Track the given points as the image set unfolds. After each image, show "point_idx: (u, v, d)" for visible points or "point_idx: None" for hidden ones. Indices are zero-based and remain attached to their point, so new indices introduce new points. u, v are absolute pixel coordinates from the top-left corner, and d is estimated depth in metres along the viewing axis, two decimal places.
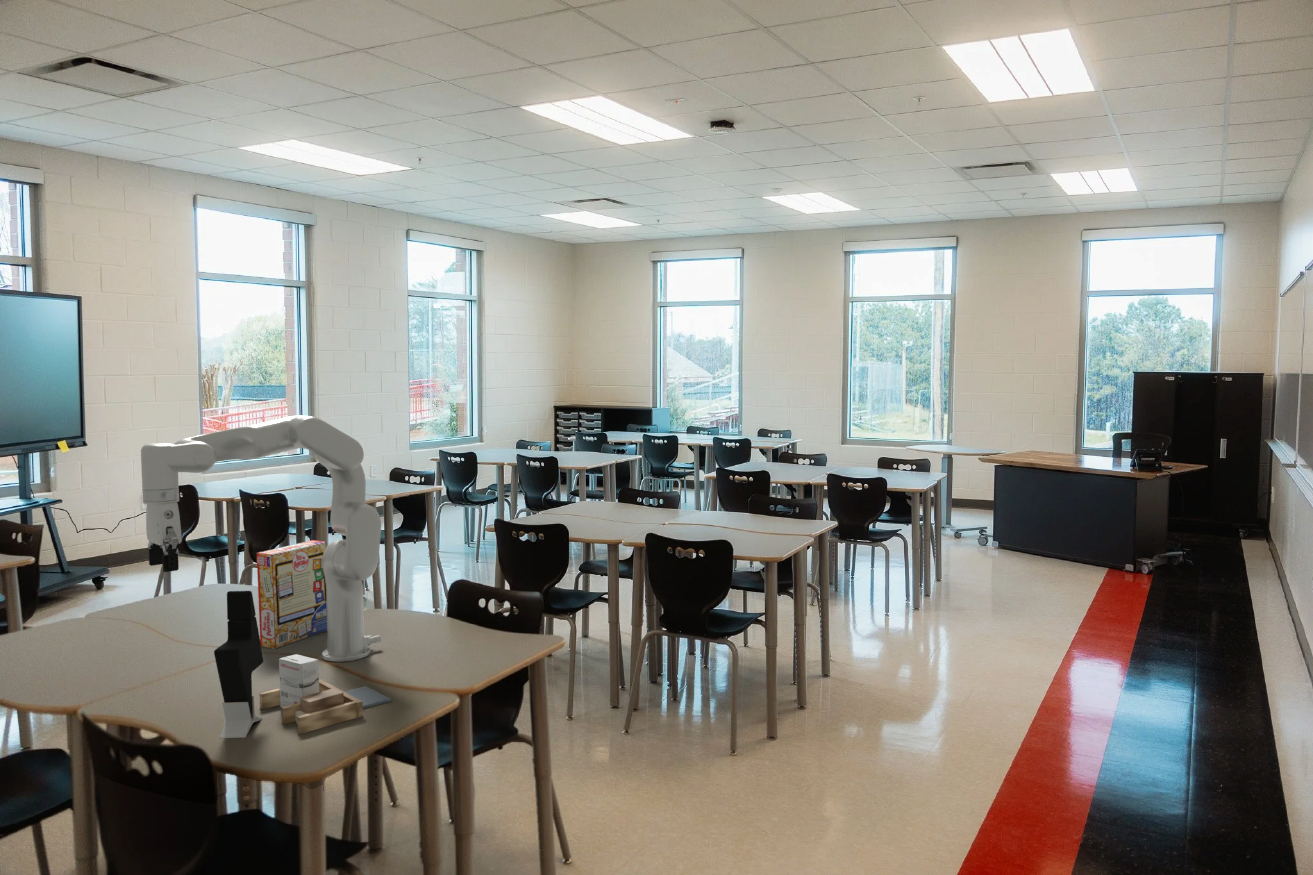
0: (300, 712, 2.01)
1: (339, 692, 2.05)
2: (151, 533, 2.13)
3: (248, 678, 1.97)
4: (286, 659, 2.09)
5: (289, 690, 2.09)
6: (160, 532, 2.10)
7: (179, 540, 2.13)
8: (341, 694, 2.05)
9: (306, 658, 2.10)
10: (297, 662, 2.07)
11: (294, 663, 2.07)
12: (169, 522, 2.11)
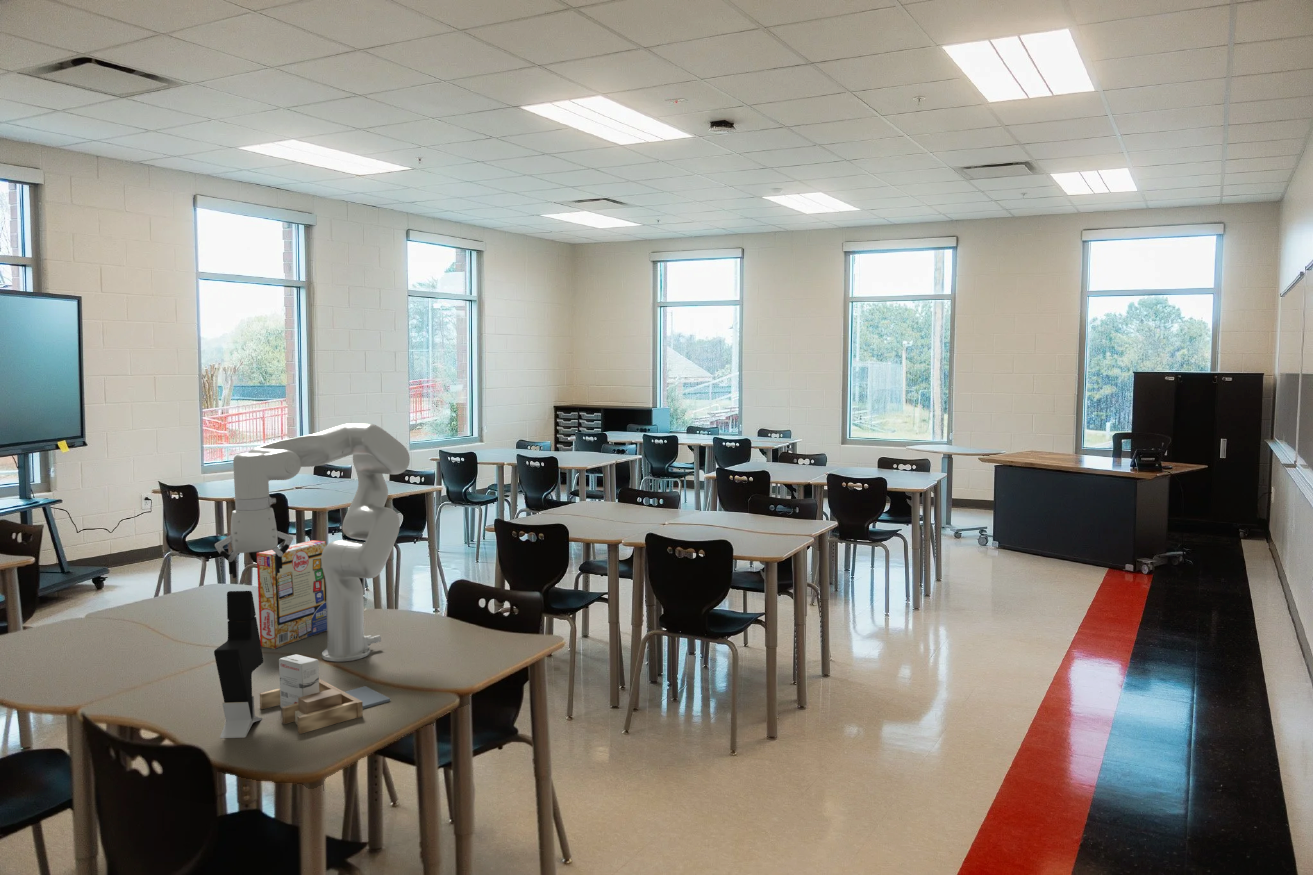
0: (299, 712, 2.01)
1: (337, 693, 2.05)
2: (255, 541, 2.18)
3: (248, 678, 1.97)
4: (286, 659, 2.09)
5: (289, 690, 2.09)
6: (276, 535, 2.21)
7: None
8: (339, 695, 2.04)
9: (306, 658, 2.10)
10: (297, 662, 2.07)
11: (294, 663, 2.07)
12: None
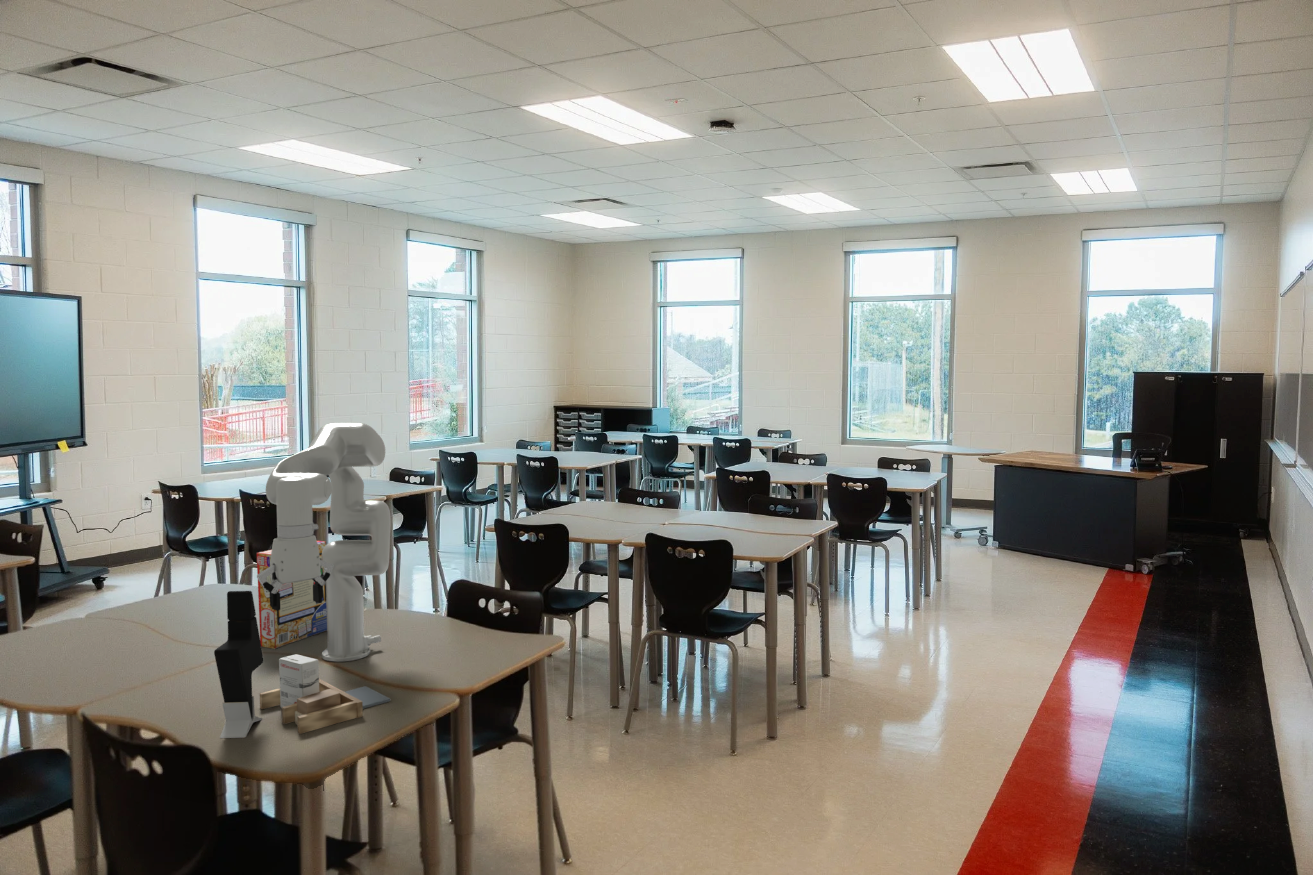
0: None
1: (336, 692, 2.05)
2: (300, 570, 2.07)
3: (248, 678, 1.97)
4: (286, 659, 2.09)
5: (289, 690, 2.09)
6: (319, 563, 2.10)
7: None
8: (338, 694, 2.04)
9: (306, 658, 2.10)
10: (297, 662, 2.07)
11: (294, 663, 2.07)
12: None
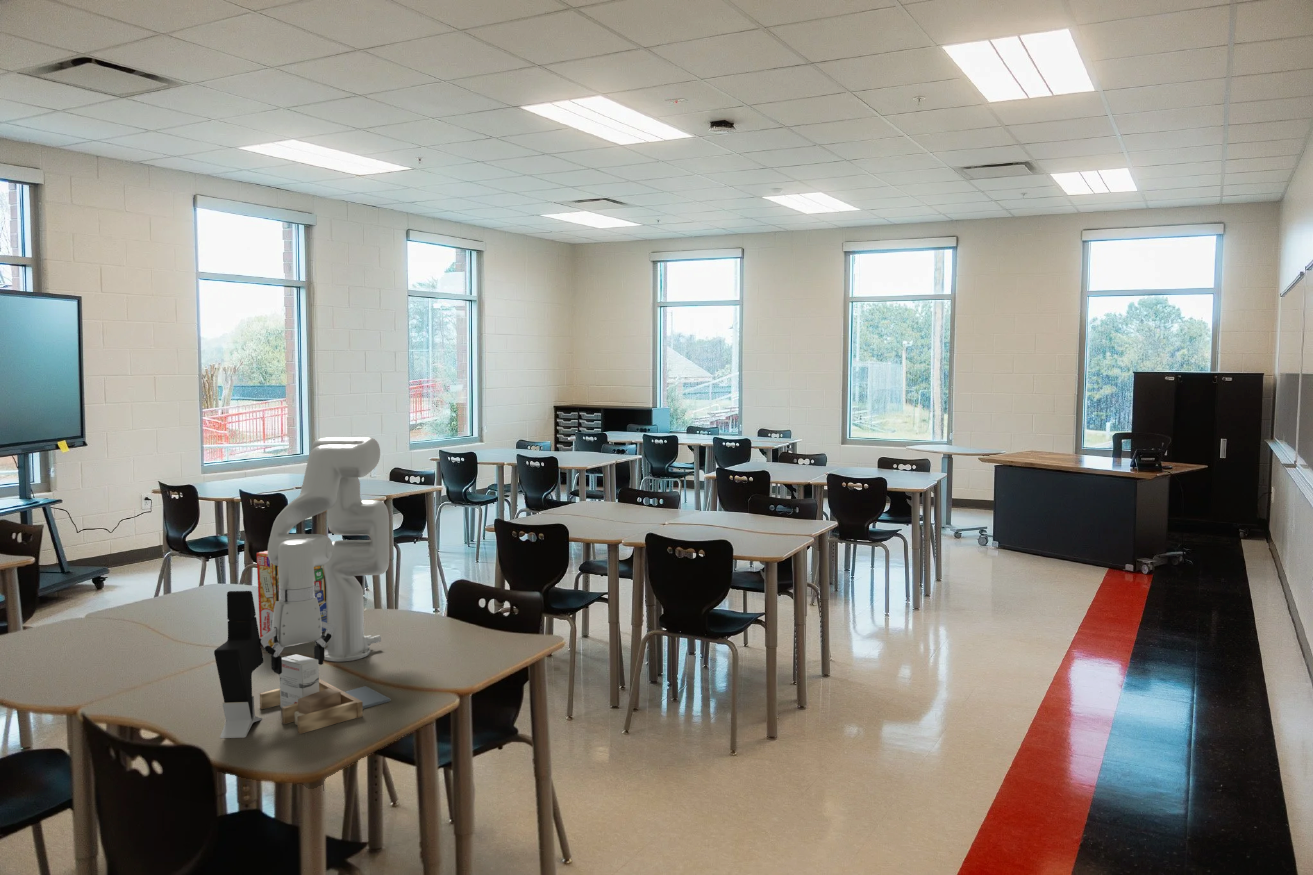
0: None
1: (336, 691, 2.06)
2: (301, 633, 2.07)
3: (248, 678, 1.97)
4: (286, 659, 2.09)
5: (289, 690, 2.09)
6: (321, 625, 2.11)
7: None
8: (338, 693, 2.05)
9: (306, 658, 2.10)
10: (297, 662, 2.07)
11: (294, 663, 2.07)
12: None
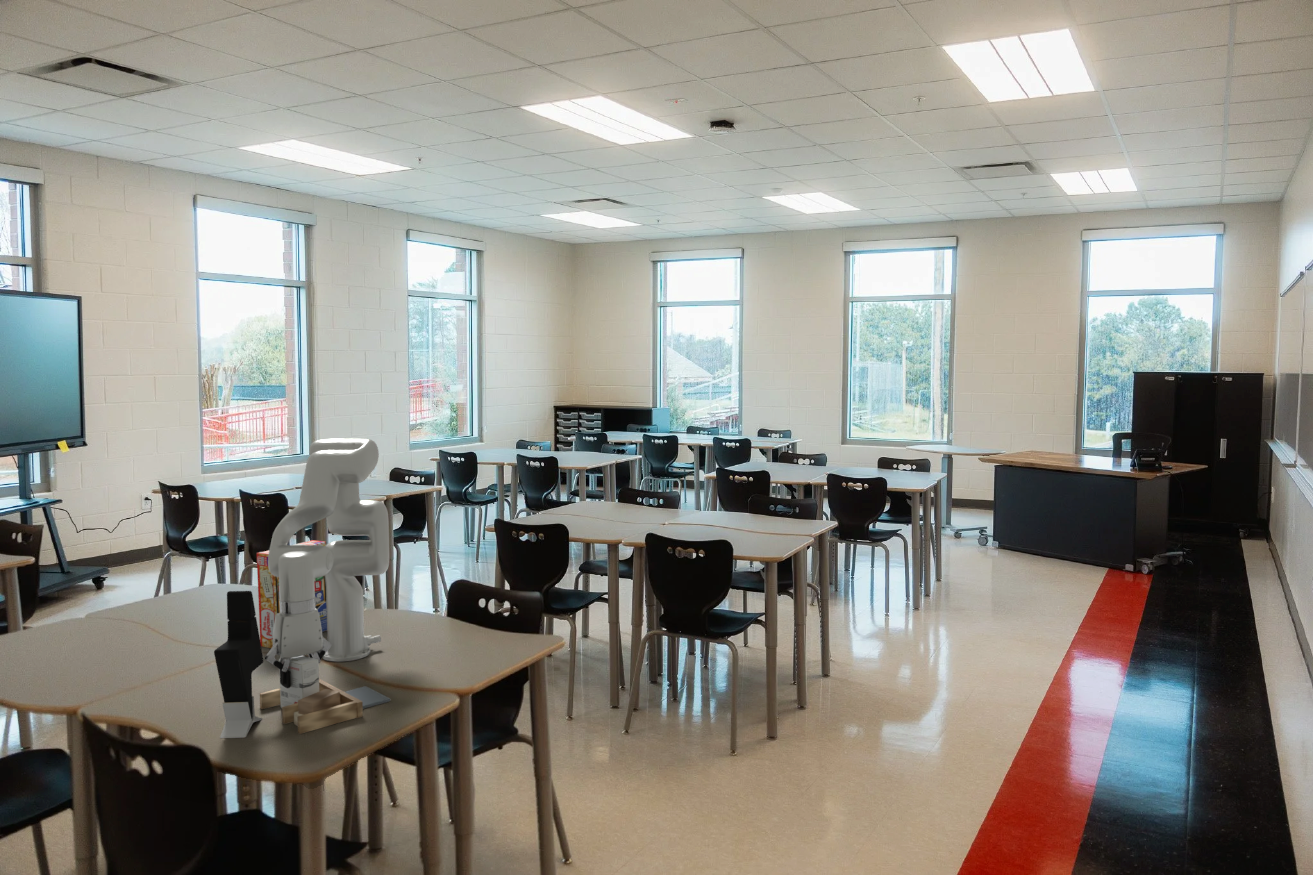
0: None
1: (335, 691, 2.06)
2: (302, 645, 2.08)
3: (248, 678, 1.97)
4: None
5: (289, 690, 2.09)
6: (322, 637, 2.12)
7: None
8: (338, 693, 2.05)
9: (306, 658, 2.10)
10: (297, 662, 2.07)
11: (294, 663, 2.07)
12: None
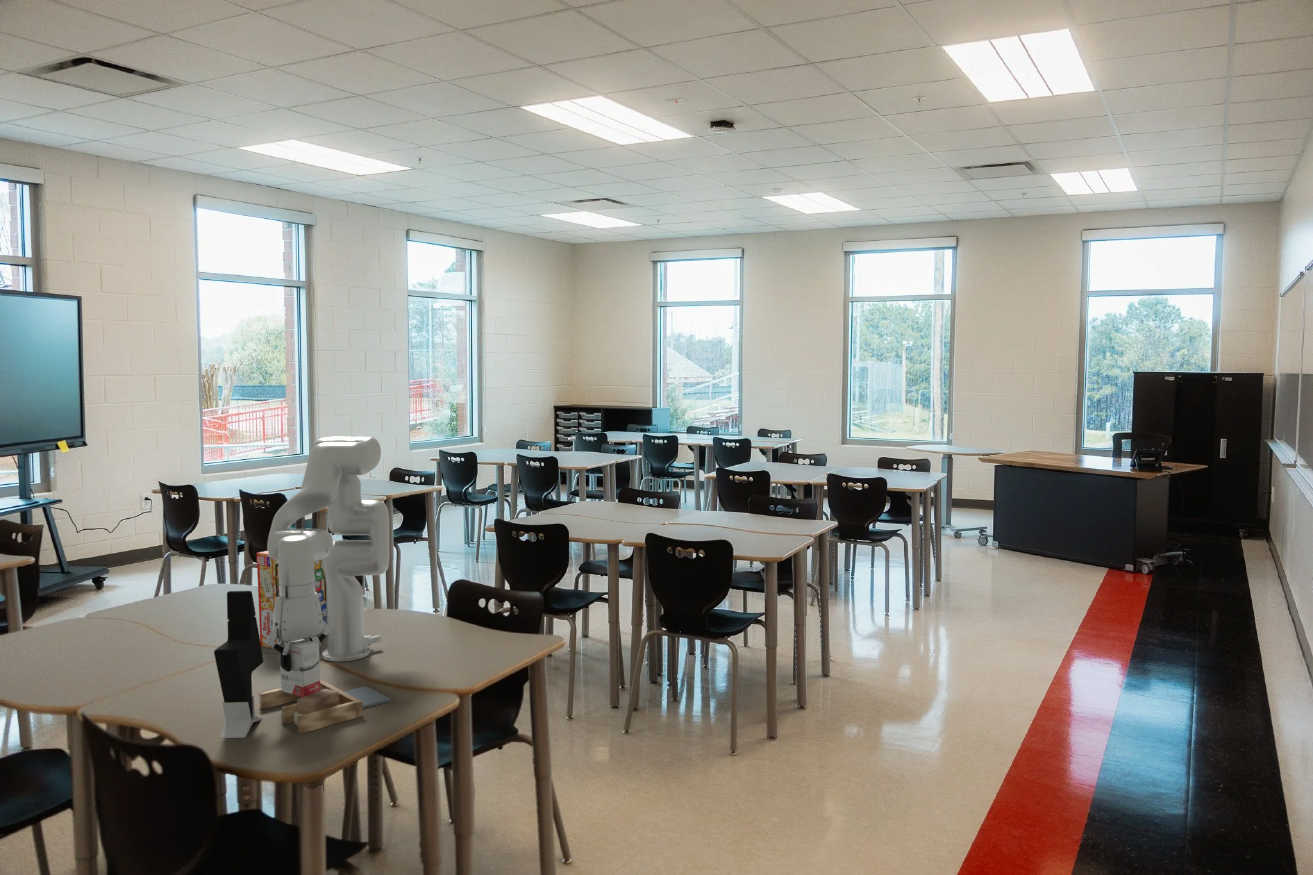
0: None
1: (334, 691, 2.06)
2: (302, 628, 2.08)
3: (248, 678, 1.97)
4: None
5: (289, 673, 2.09)
6: (322, 620, 2.12)
7: None
8: (337, 693, 2.05)
9: (306, 641, 2.11)
10: (297, 645, 2.07)
11: (294, 646, 2.07)
12: None
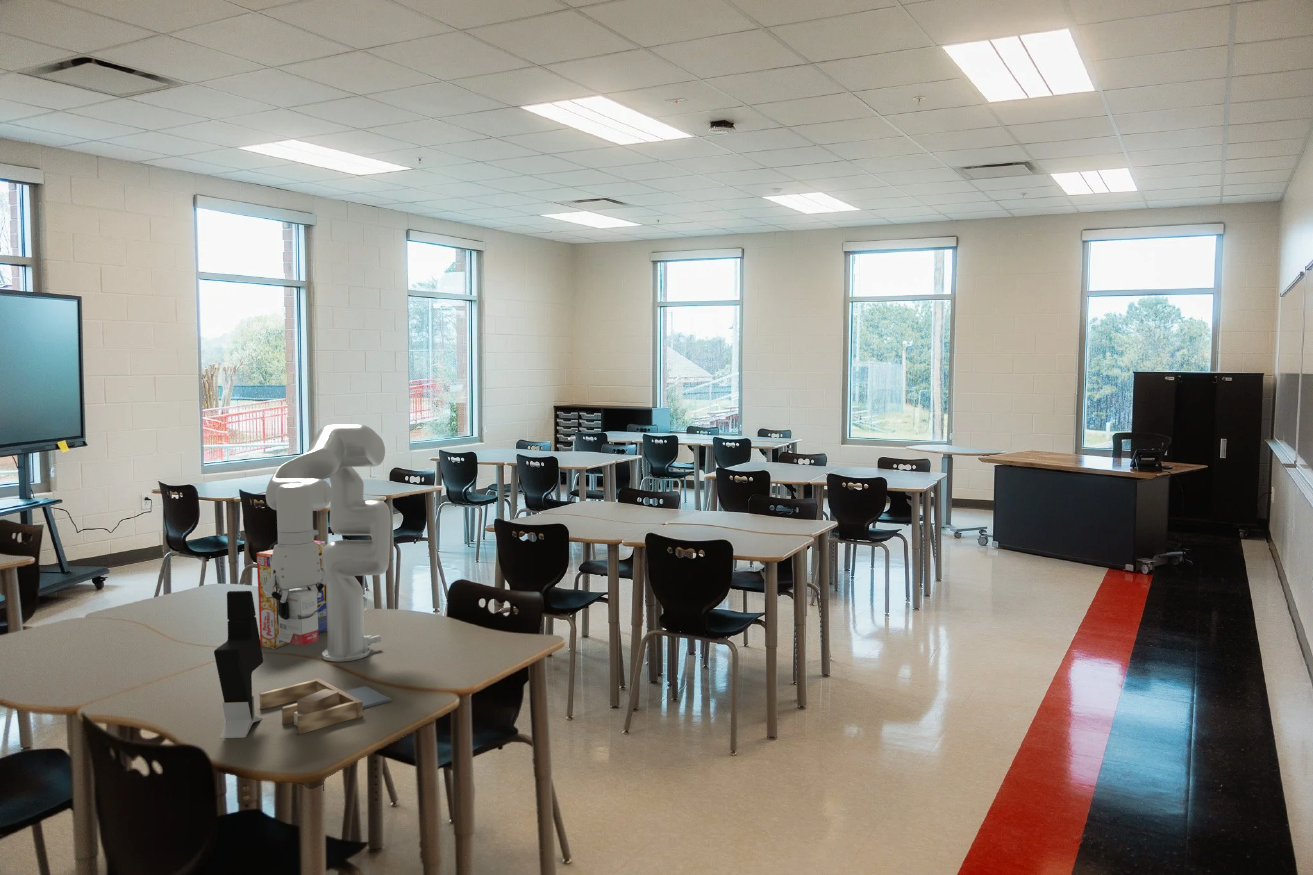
0: None
1: (334, 691, 2.06)
2: (301, 576, 2.07)
3: (248, 678, 1.97)
4: None
5: (287, 621, 2.08)
6: (320, 569, 2.10)
7: None
8: (337, 693, 2.05)
9: (304, 590, 2.09)
10: (295, 593, 2.06)
11: (292, 594, 2.06)
12: None
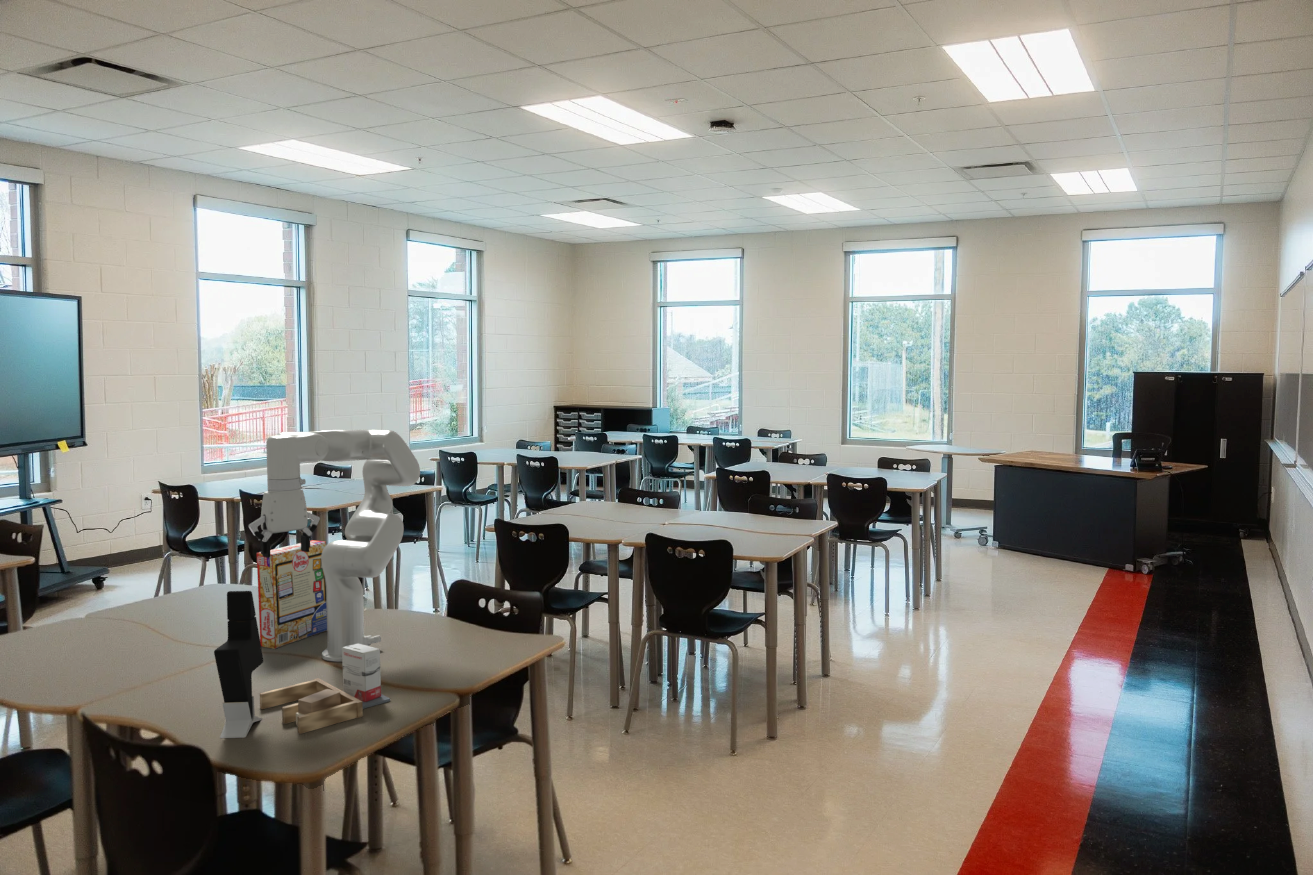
0: None
1: (336, 692, 2.05)
2: (288, 521, 2.24)
3: (248, 678, 1.97)
4: (349, 648, 2.15)
5: (351, 678, 2.15)
6: (307, 515, 2.28)
7: None
8: (338, 694, 2.05)
9: (368, 647, 2.17)
10: (360, 651, 2.13)
11: (357, 652, 2.13)
12: None
